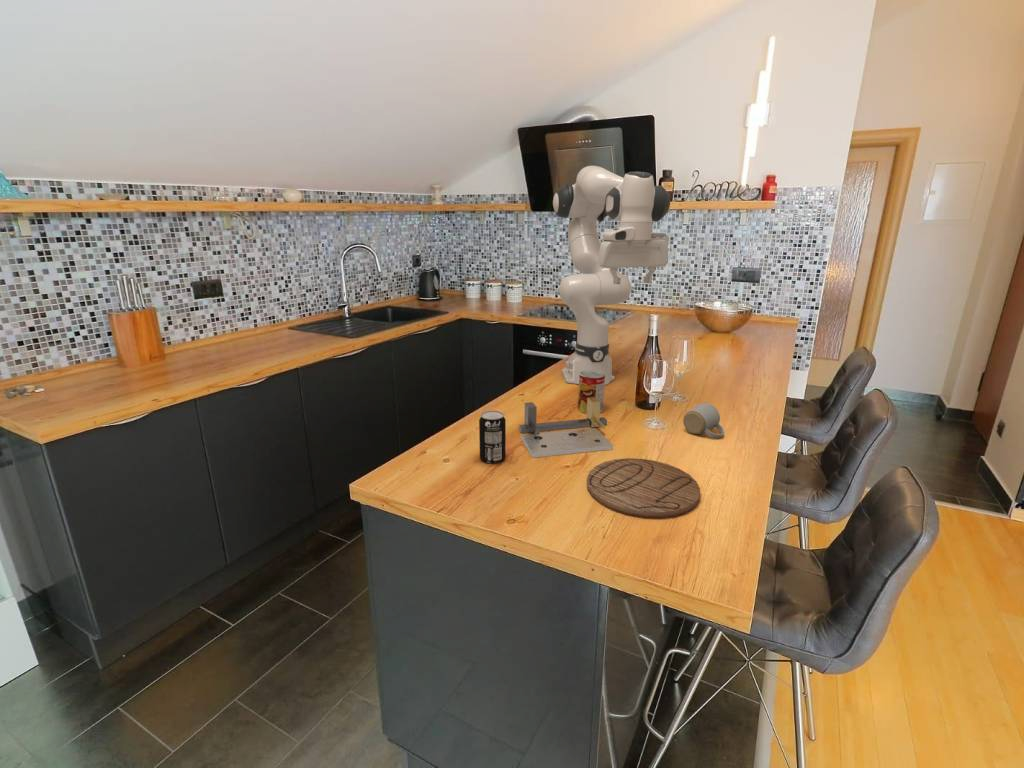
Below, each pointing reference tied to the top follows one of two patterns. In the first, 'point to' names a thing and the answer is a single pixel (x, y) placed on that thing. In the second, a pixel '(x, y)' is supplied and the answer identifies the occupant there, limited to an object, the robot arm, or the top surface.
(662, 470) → the trivet
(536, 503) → the top surface
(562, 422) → the rail
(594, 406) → the sliding leg
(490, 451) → the beverage can
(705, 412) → the ceramic mug
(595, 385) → the canned food
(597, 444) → the bolt plate
